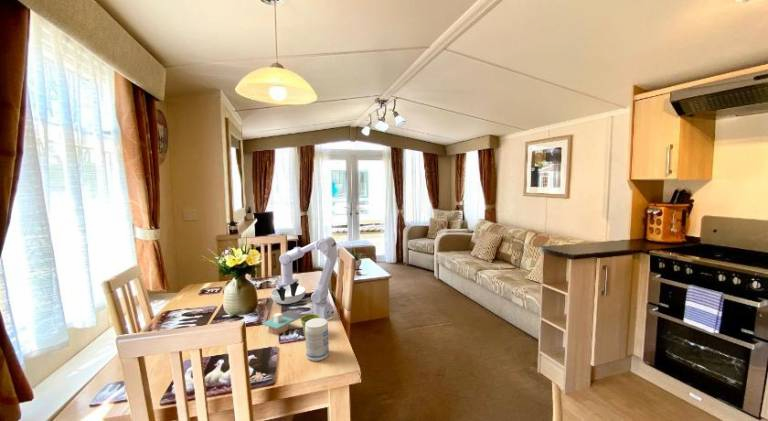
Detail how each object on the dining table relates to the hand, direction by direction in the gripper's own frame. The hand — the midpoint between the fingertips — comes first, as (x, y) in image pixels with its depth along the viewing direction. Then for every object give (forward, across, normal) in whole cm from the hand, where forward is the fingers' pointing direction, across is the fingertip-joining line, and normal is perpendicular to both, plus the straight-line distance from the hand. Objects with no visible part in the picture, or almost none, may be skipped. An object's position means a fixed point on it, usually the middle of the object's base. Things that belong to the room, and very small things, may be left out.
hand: (288, 298), depth 178 cm
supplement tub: (+10, +24, +43) cm, 50 cm away
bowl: (+9, +16, +10) cm, 21 cm away
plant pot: (+10, +12, +28) cm, 32 cm away
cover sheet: (+5, +16, +10) cm, 20 cm away
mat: (+9, +3, +3) cm, 10 cm away
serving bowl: (+10, -14, -15) cm, 23 cm away
